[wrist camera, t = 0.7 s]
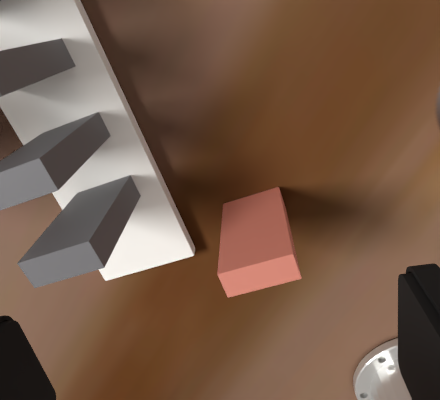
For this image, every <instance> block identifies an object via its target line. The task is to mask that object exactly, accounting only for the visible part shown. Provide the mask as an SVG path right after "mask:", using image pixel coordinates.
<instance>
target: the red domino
mask: <svg viewBox="0 0 440 400" xmlns="http://www.w3.org/2000/svg"><path fill="white" fill-rule="evenodd" d="M218 277H219V279H220V281H221V283H222V285H223V288H224V290H225V292H226V294H227V297H232V296H236V295H240V294H244V293H248V292H251V291H255V290H259V289H263V288H267V287H271V286H275V285H279V284H283V283H286V282H290V281H294V280H298V279H301V274H300V270H299V265H298V261H297V256H296V252H295V247H294V243H293V239H292V234H291V230H290V225H289V221H288V216H287V212H286V207H285V204H284V201H283V198H282V195H281V192H280V189H279V187H276V188H273V189H270V190H266V191H263V192H260V193H257V194H253V195H250V196H247V197H244V198H240V199H237V200H234V201H231V202H227V203H224V204H223V213H222V225H221V237H220V250H219V262H218Z"/></svg>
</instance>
